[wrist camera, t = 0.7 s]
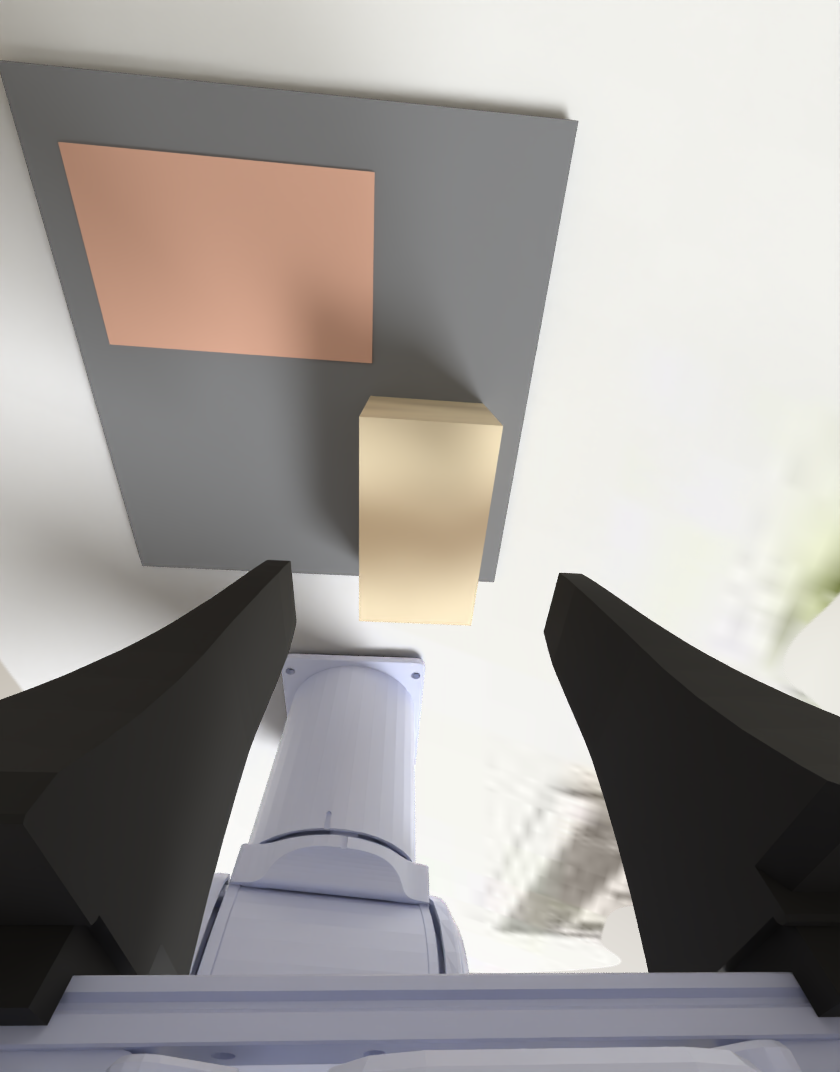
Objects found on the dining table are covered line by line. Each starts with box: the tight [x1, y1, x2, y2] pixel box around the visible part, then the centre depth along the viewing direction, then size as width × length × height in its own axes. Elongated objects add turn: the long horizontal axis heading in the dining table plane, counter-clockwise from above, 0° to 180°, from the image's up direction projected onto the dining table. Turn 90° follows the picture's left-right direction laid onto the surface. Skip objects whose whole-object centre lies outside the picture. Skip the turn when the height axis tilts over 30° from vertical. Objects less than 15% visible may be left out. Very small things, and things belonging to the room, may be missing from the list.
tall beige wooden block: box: [359, 396, 503, 626], centre depth 16 cm, size 8×4×4 cm, turn 176°
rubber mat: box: [0, 60, 578, 582], centre depth 16 cm, size 17×17×1 cm
